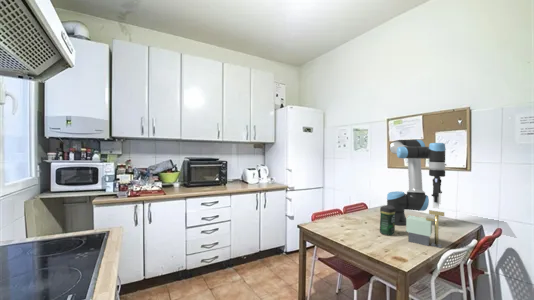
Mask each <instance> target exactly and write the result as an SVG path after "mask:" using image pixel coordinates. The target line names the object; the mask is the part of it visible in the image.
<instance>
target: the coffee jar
mask: <svg viewBox="0 0 534 300" xmlns="http://www.w3.org/2000/svg"><path fill="white" fill-rule="evenodd" d="M379 213H380V214H379V215H380V220H379V221H380V223H379V233H380V234H382V235H385V236H393V235H394V234H395V233H396V229H395V228H396V227H395V226H396V225H395V207H394V206H391V205H387V204H386V205H383V206H380V209H379Z"/></svg>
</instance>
